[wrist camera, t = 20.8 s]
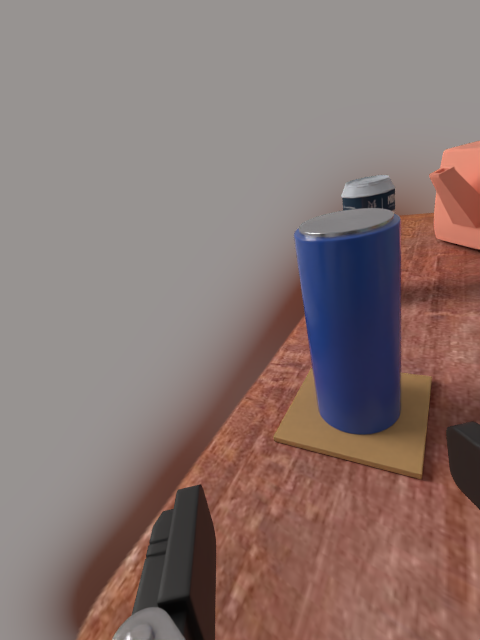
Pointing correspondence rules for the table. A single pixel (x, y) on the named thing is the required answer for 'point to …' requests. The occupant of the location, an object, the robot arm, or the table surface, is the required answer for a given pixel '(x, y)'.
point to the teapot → (458, 196)
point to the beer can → (369, 193)
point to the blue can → (353, 315)
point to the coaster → (371, 449)
